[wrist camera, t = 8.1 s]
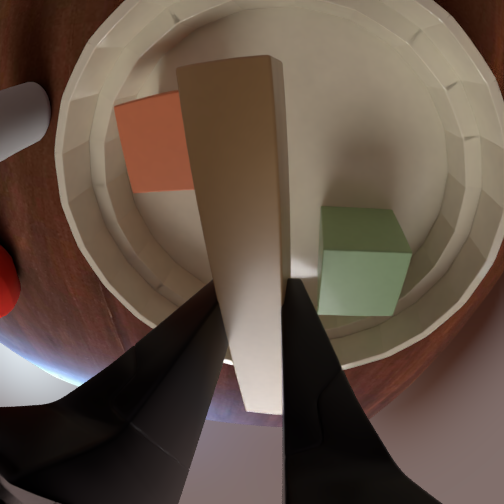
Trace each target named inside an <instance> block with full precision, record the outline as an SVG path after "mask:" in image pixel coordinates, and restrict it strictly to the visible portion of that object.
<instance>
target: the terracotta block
mask: <svg viewBox="0 0 504 504" xmlns="http://www.w3.org/2000/svg"><path fill="white" fill-rule="evenodd" d="M114 112H115V117H116V122H117V127H118V132H119V137H120V141H121V146H122V150H123V155H124V159H125V163H126V167H127V171H128V175H129V179H130V183H131V187H132V191H133V193H147V192H162V191H180V190H194V184H193V179H192V173H191V168H190V162H189V156H188V150H187V144H186V138H185V131H184V125H183V119H182V112H181V105H180V98H179V91H178V90H174V91H169V92H164V93H159V94H155V95H151V96H147V97H143V98H139V99H136V100H132V101H129V102H125V103H122V104H119V105H116V106H114Z"/></svg>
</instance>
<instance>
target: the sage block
mask: <svg viewBox="0 0 504 504" xmlns="http://www.w3.org/2000/svg"><path fill="white" fill-rule="evenodd" d="M411 257H412V250H411V248H410V246H409V243H408V241H407V239H406V237H405V235H404V233H403V231H402V228H401V226H400V224H399V222H398V220H397V218H396V216H395V214H394V212H393V210H391V209H375V208H355V207H332V206H321V207H320V231H319V250H318V265H317V266H318V287H317V314H318V315H341V316H393V313H394V311H395V308H396V305H397V302H398V299H399V296H400V293H401V290H402V287H403V284H404V281H405V277H406V274H407V271H408V267H409V264H410V260H411Z"/></svg>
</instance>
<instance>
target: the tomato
mask: <svg viewBox="0 0 504 504" xmlns="http://www.w3.org/2000/svg"><path fill="white" fill-rule="evenodd" d="M20 291H21V287H20V281H19V278H18V275H17V273H16V269H15V266H14V263H13V260H12V257H11V256H10V255H9V254H8V252H7V251H6V250H5V249H4V248H3V247H2V246H1V245H0V318H1V317H3V316H5V315H7V314H8V313H9V312H10V311H11V310H12V309H13V308H14V306H15V304H16V303H17V301H18V298H19V294H20Z"/></svg>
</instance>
